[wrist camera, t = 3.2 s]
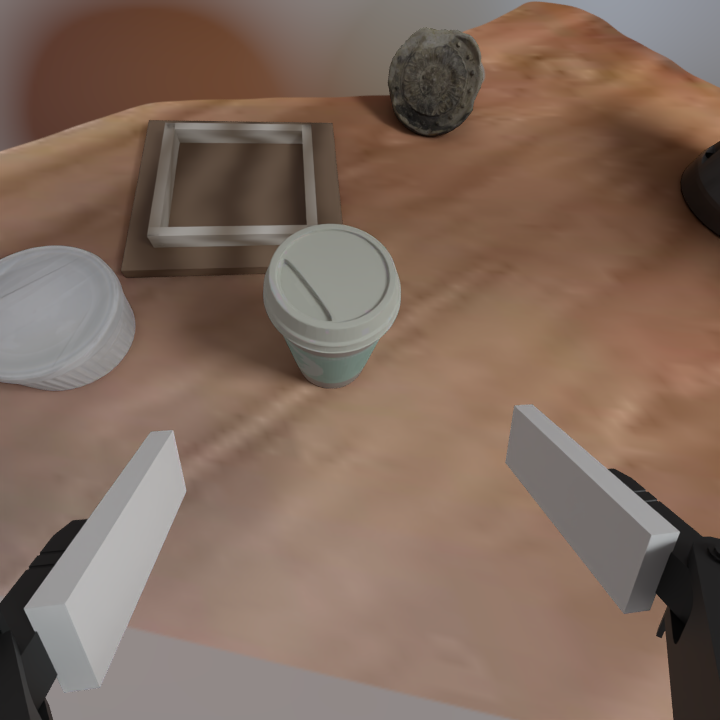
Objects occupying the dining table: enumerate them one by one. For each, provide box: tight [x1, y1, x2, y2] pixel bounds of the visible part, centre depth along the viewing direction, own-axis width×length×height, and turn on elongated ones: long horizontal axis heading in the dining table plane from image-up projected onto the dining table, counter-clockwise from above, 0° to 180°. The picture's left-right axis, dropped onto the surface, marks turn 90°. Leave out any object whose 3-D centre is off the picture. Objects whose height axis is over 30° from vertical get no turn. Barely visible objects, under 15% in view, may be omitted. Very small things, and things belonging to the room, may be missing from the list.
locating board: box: [121, 120, 342, 278], centre depth 38 cm, size 20×20×2 cm
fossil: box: [388, 28, 483, 136], centre depth 45 cm, size 11×9×10 cm
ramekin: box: [0, 246, 136, 391], centre depth 29 cm, size 11×11×5 cm
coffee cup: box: [263, 224, 401, 388], centre depth 27 cm, size 8×8×12 cm
